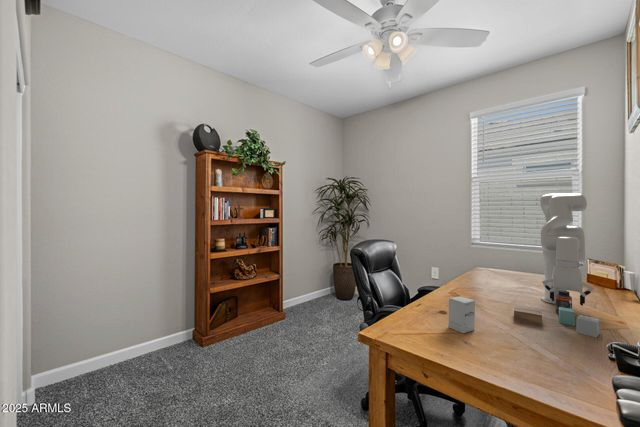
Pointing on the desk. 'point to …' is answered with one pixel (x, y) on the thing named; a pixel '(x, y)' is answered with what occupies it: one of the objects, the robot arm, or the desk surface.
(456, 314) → the supplement box
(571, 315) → the teal cube
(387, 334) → the desk surface
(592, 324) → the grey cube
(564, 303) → the supplement bottle
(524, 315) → the walnut block
